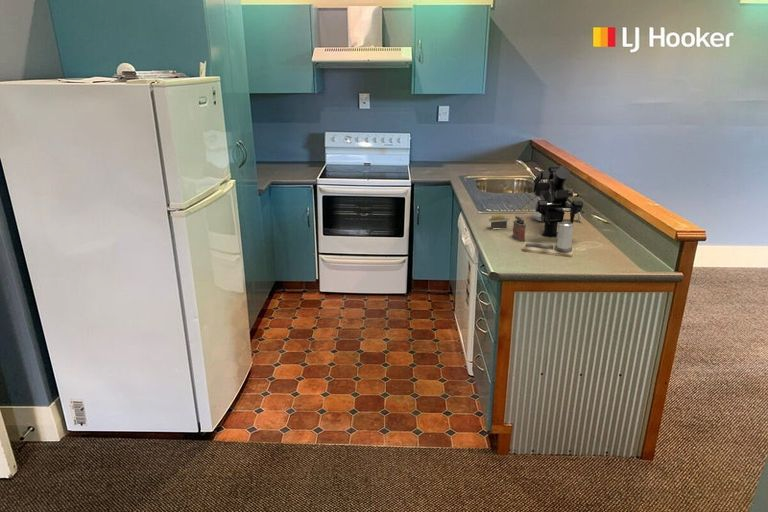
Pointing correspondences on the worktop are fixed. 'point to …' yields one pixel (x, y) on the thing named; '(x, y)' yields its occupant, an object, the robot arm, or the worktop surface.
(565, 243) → the silver cylindrical piece
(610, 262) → the worktop surface
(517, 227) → the lighter
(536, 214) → the spoon rest
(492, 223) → the platform
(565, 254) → the board
